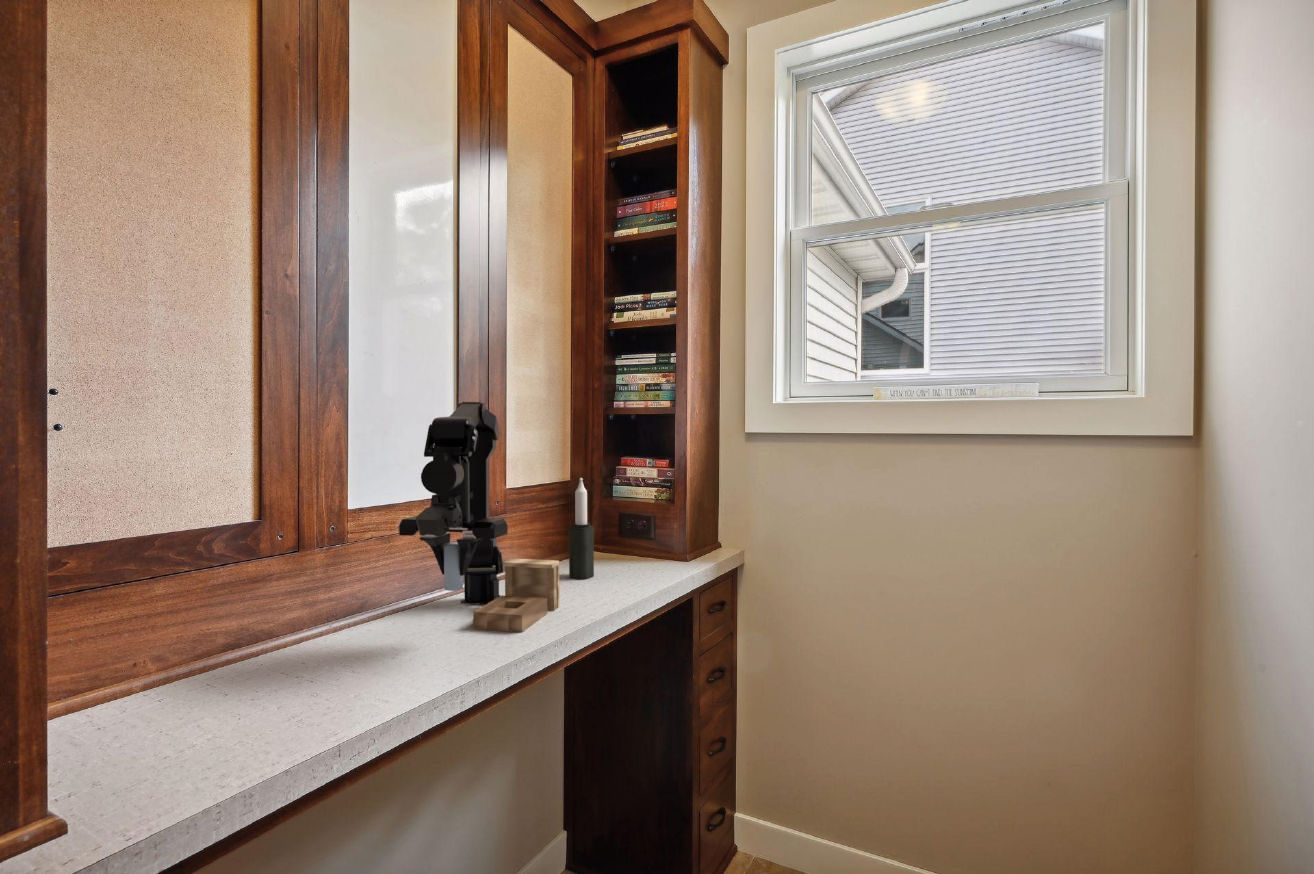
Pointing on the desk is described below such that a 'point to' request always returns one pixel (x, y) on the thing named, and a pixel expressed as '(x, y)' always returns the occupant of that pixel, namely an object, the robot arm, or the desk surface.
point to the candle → (581, 539)
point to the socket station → (522, 596)
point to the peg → (452, 567)
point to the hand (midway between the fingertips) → (453, 574)
